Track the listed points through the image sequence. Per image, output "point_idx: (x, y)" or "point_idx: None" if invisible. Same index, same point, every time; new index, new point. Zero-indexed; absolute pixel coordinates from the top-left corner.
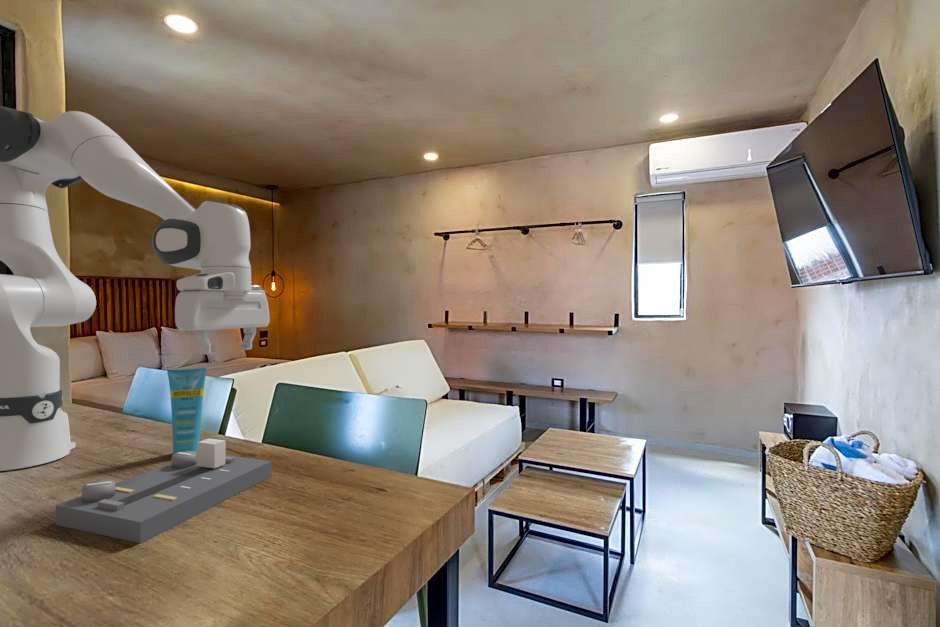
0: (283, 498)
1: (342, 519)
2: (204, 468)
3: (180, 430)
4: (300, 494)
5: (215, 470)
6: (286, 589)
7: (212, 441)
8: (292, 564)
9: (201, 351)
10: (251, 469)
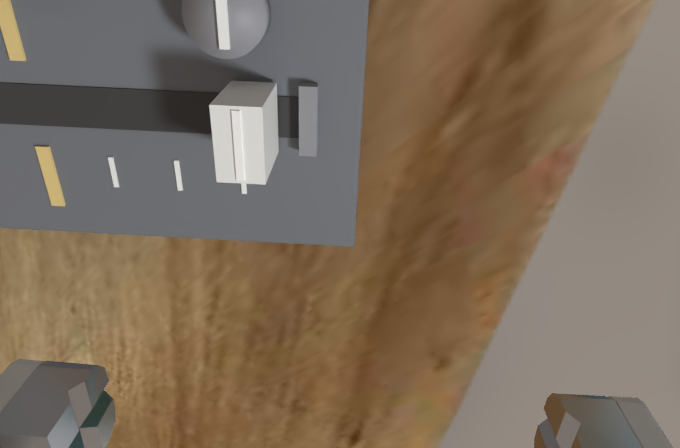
0: (254, 314)
1: (224, 427)
2: None
3: None
4: (283, 332)
5: None
6: None
7: (235, 153)
8: None
9: (4, 371)
10: (280, 237)
